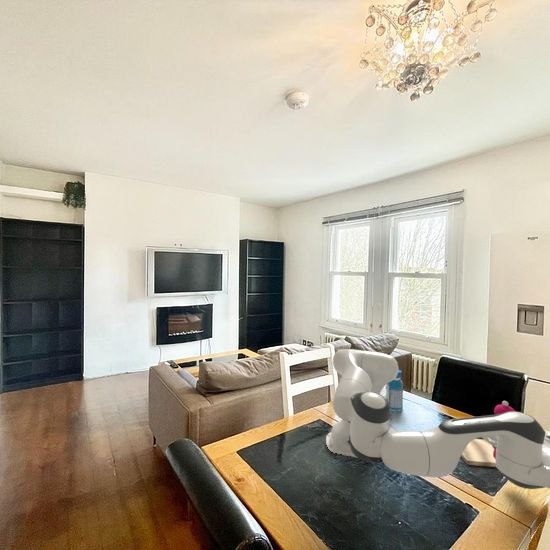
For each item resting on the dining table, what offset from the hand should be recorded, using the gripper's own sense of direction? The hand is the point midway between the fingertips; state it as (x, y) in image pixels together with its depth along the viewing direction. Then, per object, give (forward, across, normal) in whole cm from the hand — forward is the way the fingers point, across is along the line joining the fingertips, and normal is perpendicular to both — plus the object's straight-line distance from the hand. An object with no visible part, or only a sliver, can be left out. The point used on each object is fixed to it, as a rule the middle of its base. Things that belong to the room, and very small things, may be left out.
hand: (503, 425), depth 104 cm
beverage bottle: (+51, -23, -19) cm, 59 cm away
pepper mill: (-1, 0, -12) cm, 12 cm away
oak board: (+15, 0, -19) cm, 24 cm away
